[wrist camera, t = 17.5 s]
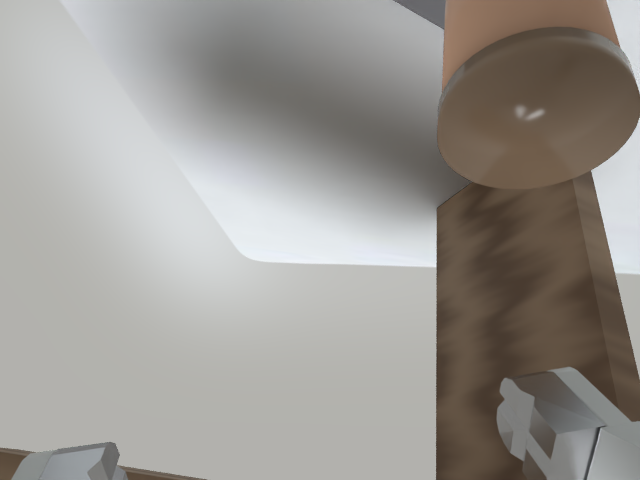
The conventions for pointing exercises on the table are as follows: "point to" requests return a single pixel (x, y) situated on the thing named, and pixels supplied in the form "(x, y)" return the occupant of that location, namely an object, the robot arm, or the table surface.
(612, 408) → the robot arm
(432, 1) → the grey mat
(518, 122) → the terracotta jar
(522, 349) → the walnut stand
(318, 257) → the table surface
